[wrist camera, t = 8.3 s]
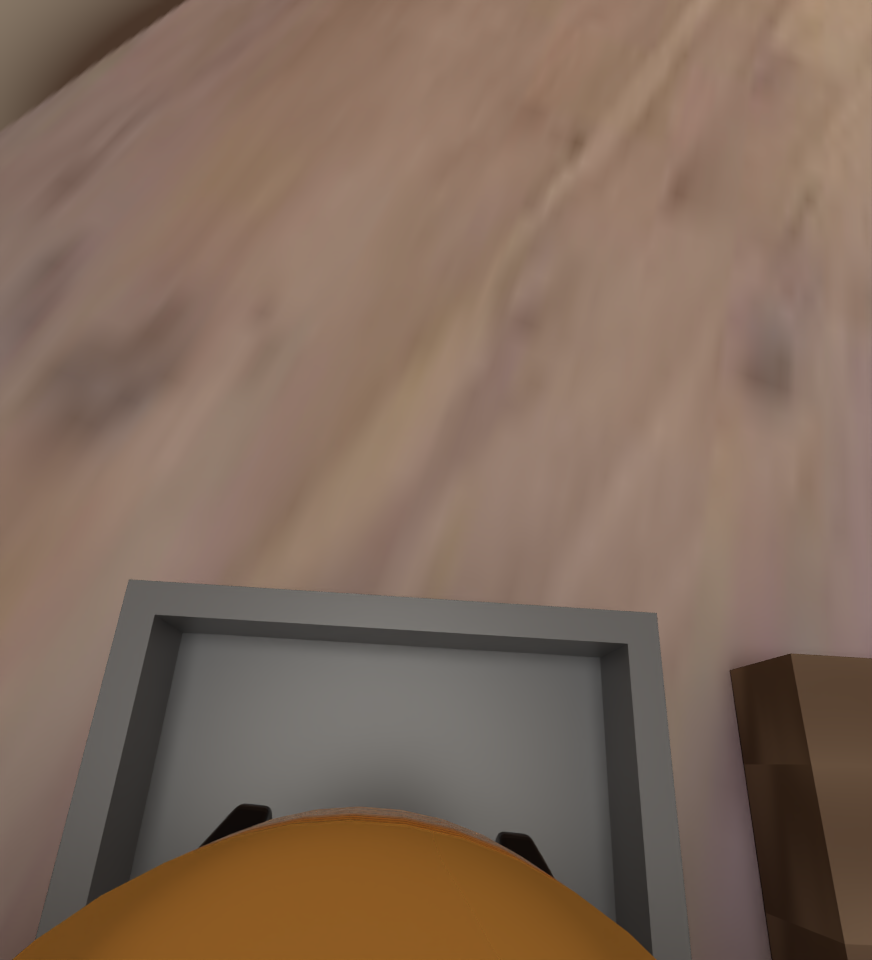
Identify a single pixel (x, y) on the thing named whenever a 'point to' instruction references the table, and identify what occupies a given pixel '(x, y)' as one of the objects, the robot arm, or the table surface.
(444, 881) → the pin
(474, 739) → the tray
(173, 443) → the table surface
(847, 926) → the hitch block
